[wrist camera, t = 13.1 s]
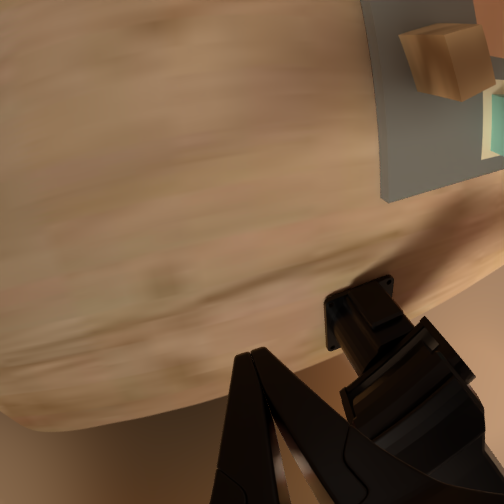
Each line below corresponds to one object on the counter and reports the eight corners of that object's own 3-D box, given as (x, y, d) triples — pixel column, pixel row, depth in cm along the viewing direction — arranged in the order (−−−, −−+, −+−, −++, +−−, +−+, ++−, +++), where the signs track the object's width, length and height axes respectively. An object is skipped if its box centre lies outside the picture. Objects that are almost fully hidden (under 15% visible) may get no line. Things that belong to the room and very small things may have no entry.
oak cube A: (453, 75, 17) (496, 84, 13) (417, 91, 17) (461, 102, 14) (437, 23, 14) (481, 24, 11) (398, 34, 15) (444, 35, 11)
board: (512, 161, 23) (519, 164, 23) (380, 197, 22) (388, 203, 21) (501, -21, 13) (510, -21, 12) (342, -68, 11) (350, -73, 10)
